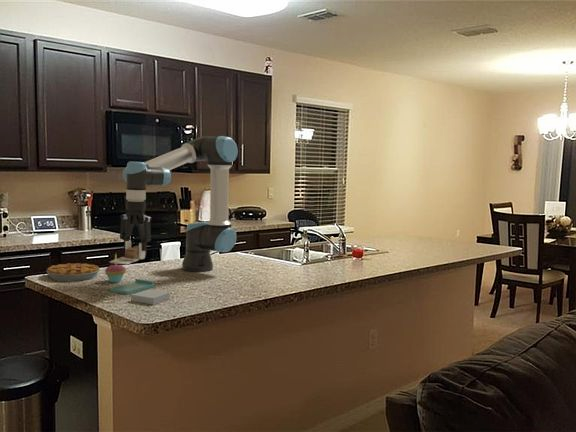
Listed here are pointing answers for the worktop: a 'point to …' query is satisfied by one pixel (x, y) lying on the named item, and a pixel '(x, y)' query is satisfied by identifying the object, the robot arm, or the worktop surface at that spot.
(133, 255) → the turner
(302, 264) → the worktop surface
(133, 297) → the tile
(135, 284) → the rest
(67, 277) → the pie
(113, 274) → the cupcake
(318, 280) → the worktop surface
